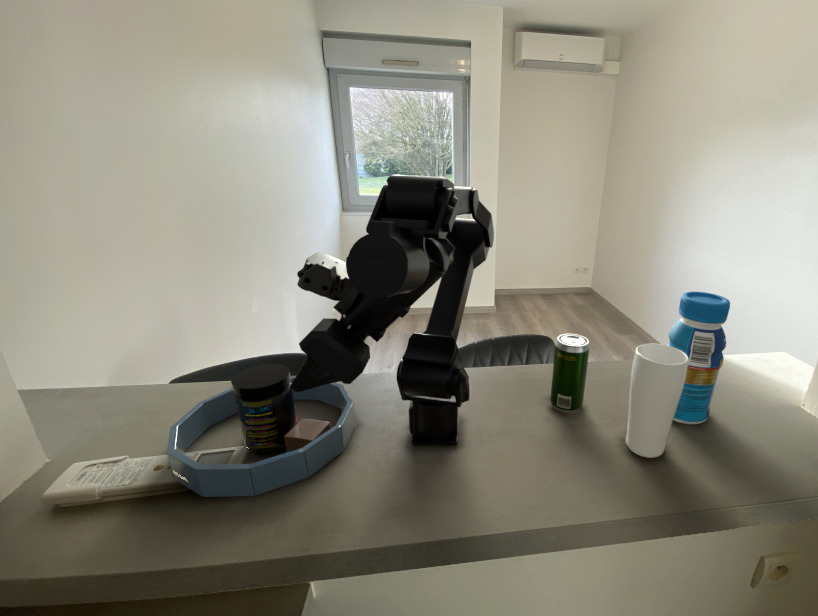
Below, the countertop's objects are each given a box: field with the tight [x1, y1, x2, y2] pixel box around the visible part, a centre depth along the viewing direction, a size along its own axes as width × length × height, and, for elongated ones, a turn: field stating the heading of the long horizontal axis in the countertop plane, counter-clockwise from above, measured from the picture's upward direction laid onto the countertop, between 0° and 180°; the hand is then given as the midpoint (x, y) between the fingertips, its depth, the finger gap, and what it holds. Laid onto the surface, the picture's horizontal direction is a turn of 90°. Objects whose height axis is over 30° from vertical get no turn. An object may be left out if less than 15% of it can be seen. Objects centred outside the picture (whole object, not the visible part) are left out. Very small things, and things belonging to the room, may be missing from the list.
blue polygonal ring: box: [166, 375, 356, 498], centre depth 57 cm, size 22×22×4 cm
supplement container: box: [230, 363, 299, 456], centre depth 55 cm, size 7×7×10 cm
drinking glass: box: [625, 342, 689, 459], centre depth 56 cm, size 7×7×15 cm
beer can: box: [549, 333, 590, 414], centre depth 66 cm, size 5×5×12 cm
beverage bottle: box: [666, 291, 731, 425], centre depth 64 cm, size 8×8×20 cm
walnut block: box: [284, 418, 332, 453], centre depth 54 cm, size 4×4×4 cm
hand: (309, 369), depth 49 cm, fingers open, 9 cm apart
